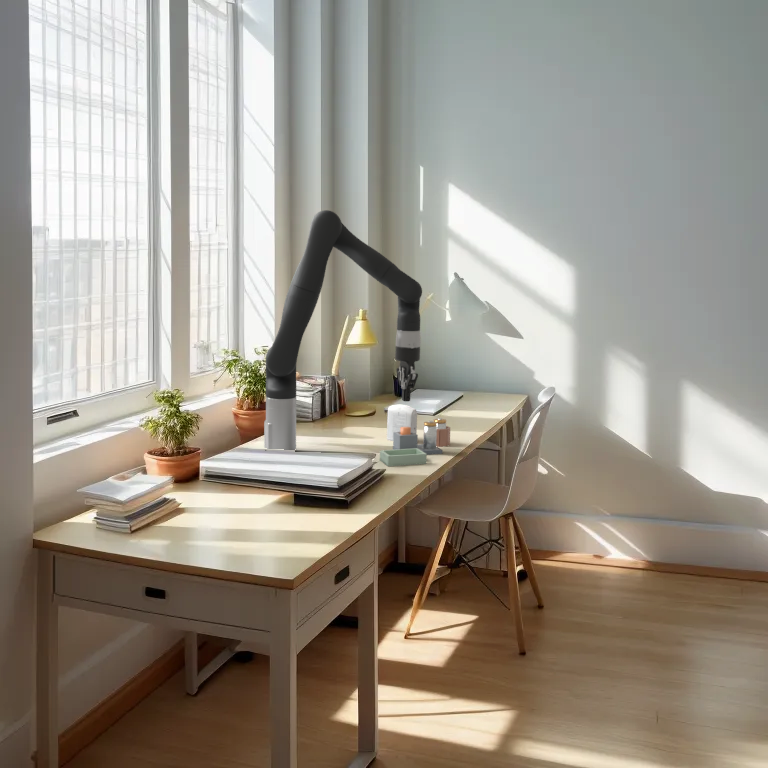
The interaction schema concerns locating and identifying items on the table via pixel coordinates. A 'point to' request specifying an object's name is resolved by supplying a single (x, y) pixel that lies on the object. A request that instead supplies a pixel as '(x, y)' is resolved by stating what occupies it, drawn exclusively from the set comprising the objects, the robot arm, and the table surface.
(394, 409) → the photo printer
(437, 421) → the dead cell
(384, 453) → the trough
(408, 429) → the button
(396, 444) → the grey stepped block
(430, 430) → the cylinder
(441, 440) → the cup
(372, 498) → the table surface
